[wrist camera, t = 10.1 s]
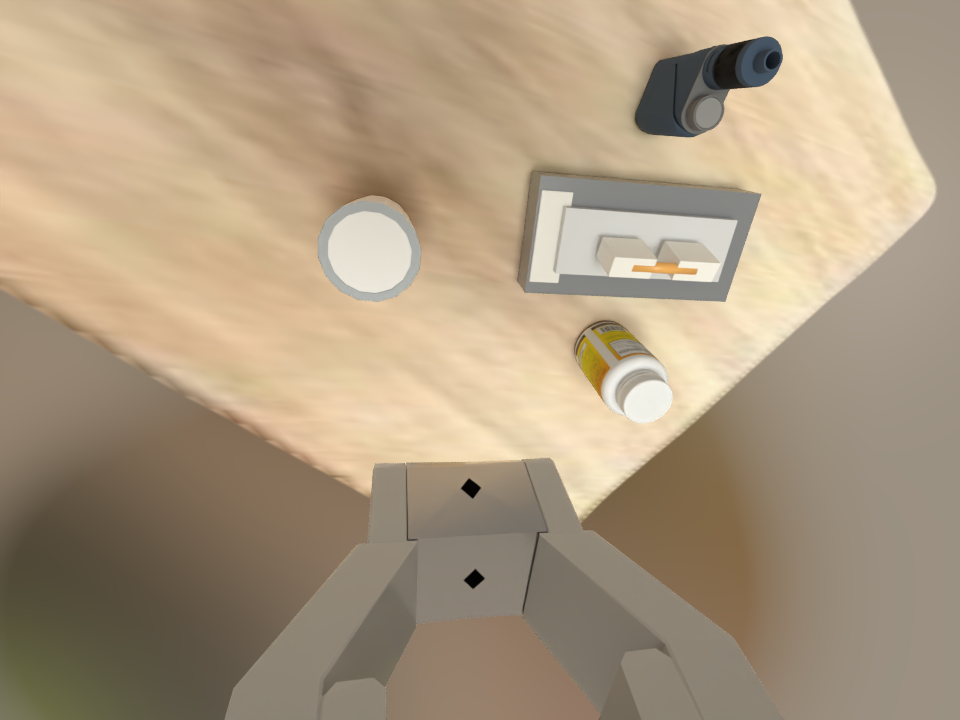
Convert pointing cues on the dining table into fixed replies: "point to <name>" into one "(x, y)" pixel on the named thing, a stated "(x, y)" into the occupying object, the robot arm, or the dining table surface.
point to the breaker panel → (628, 233)
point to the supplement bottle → (624, 372)
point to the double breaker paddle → (673, 259)
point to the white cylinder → (370, 249)
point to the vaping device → (703, 85)
